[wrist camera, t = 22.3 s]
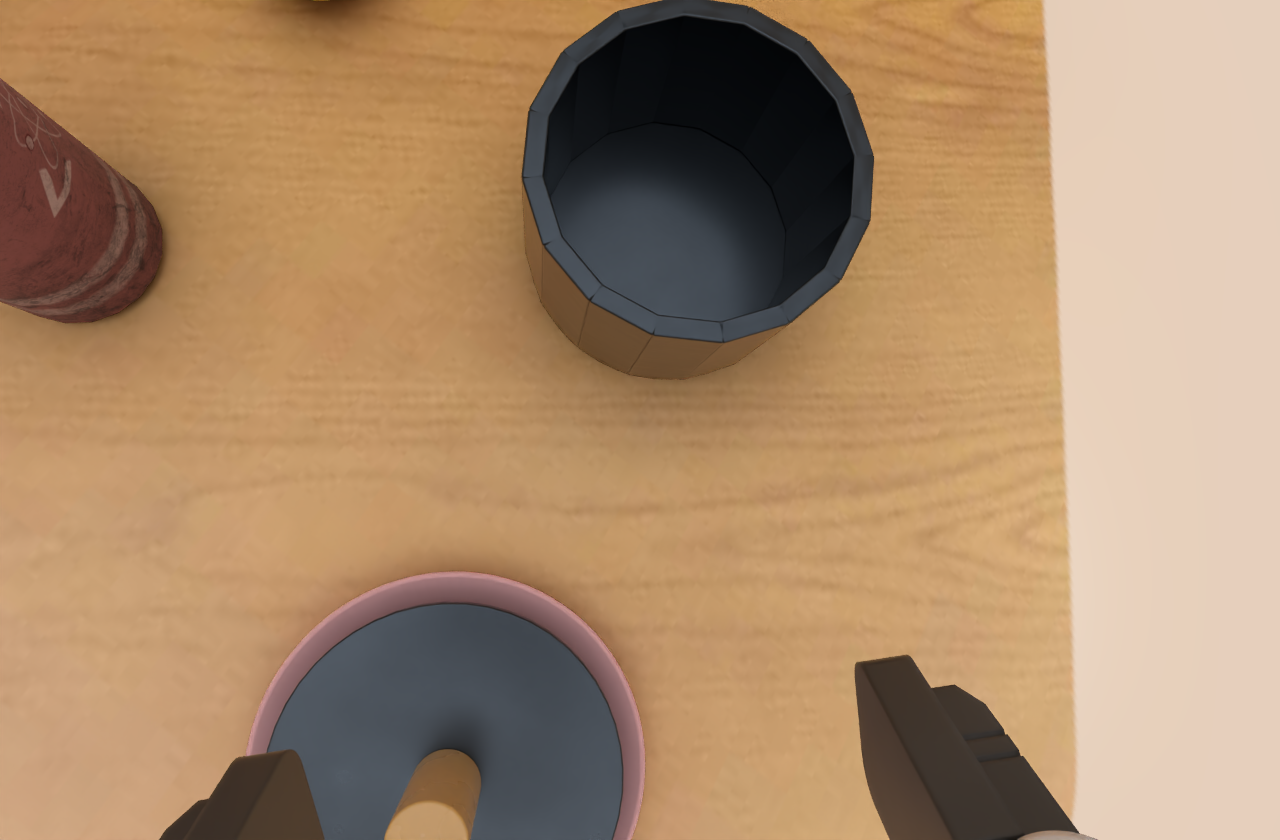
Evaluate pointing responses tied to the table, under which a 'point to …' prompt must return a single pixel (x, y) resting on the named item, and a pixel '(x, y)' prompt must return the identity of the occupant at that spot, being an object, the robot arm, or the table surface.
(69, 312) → the can
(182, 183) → the table surface
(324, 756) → the lid
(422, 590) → the plate
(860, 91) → the table surface
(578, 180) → the tin
